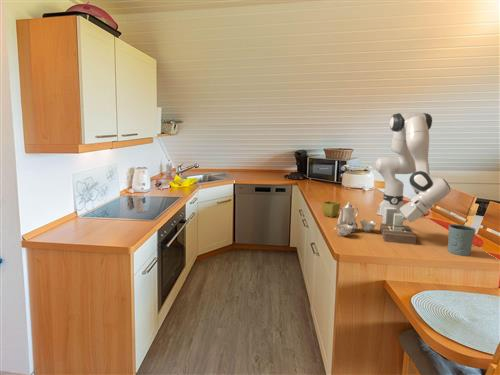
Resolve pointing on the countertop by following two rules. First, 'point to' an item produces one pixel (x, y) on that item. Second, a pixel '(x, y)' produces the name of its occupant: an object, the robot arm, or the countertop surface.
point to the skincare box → (388, 215)
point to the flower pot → (330, 208)
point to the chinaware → (351, 221)
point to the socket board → (397, 234)
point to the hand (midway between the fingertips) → (396, 221)
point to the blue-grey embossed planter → (460, 239)
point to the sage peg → (395, 224)
